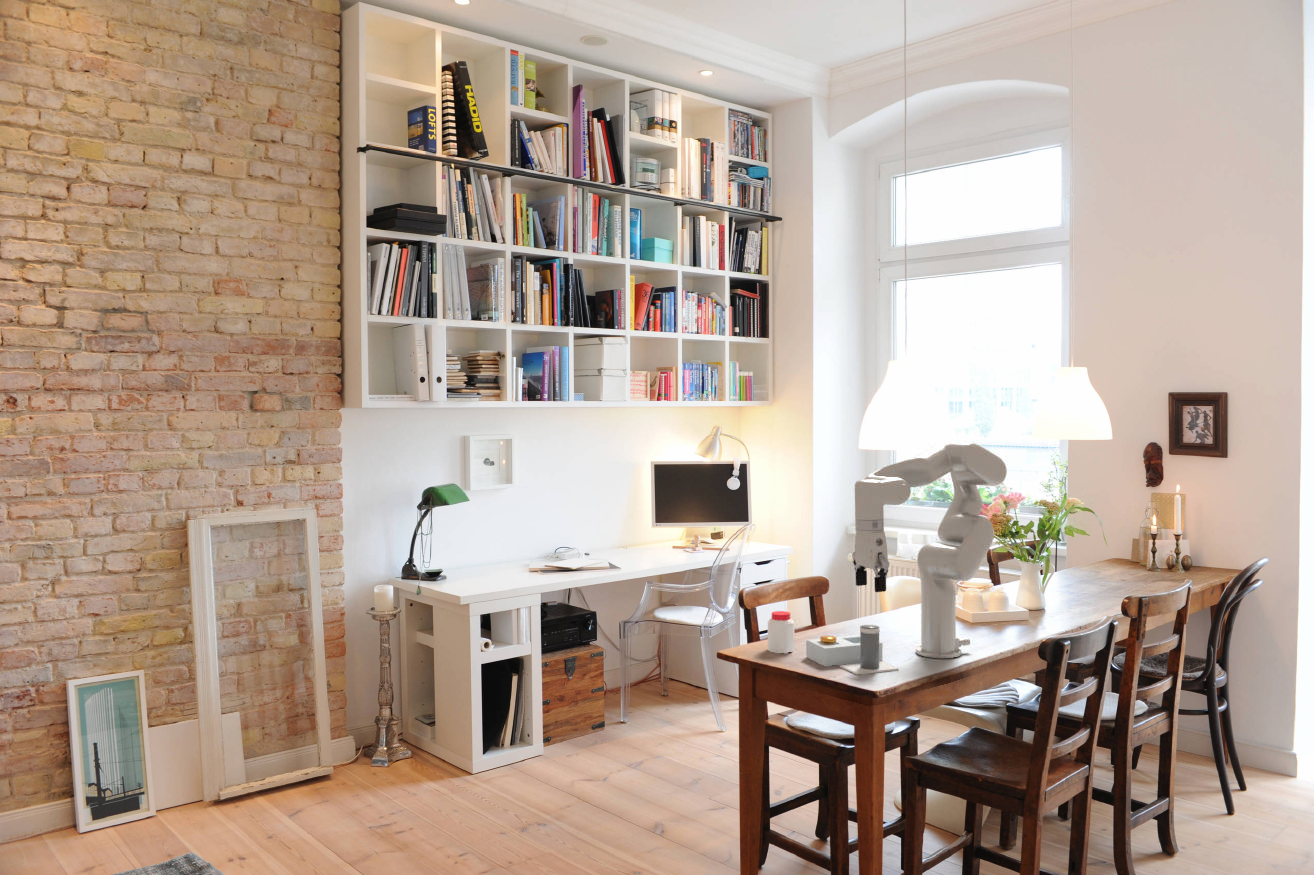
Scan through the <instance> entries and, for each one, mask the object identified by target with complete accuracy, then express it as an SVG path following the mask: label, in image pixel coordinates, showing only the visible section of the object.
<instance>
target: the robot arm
mask: <svg viewBox="0 0 1314 875" xmlns="http://www.w3.org/2000/svg"><path fill="white" fill-rule="evenodd" d="M1007 472H1008V471H1007V466H1006V463H1005V462H1004V460H1002V458H1001V457H1000V456H998V455H996V454H995V453H993V452H991V451H989V450H988V449H986V448H985V447H982V446H981V445H979V444H978V443H974V442H971V441H960V440H959V441H956V440H955V441H954V440H949V441H948V440H947V441H942V442H939V443H937V444H936V445H934V446H933V447H930V448H929V449H927V450H926V451H924V452H922V453H920V454H918V455H916V456H915V457H913V458H908V459H905V460H902V461H899V462H896V463H892V464H889V465H886V466H883V467H880V468H879V469H877V470H875V471H874V472H872V473H870V474H868V475H867V476H866V477H865V478H864V479H859V480H857V481H856V482H855V483H854V518H855V519H854V521H855V523H854V524H855V525H854V526H855V530H854V531H855V536H854V537H855V538H854V552H853V551H852V553H851V556H852V560H853V561H852V564H853V566H854V571H855V586H856V587H860V586H861V587H862V586H867V585H868V578H867V577H868V575H867V574H868V573H867V572H868V571H867V570H866V569H870V570H872V571H873V572H874V575H875V576H874V592H875V593H881V592H883V593H884V592H886V591H887V577H888V572H889V567H890V562H889V556H888V545H887V543H888V542H887V538H886V533H885V523H884V522H885V521H884V516H885V515H884V506H885V505H887V506H888V505H889V506H900V505H903V504H904V503H906V502H907V501H908V499H909V498H910V496H911V492H912V491H911V488H918V487H924V486H928V485H931V484H933V483H934V482H936V481H937V480H939V479H940V478H942V477H944V476H946V475H947V474H949V473H950V477H951V480H952V486H953V498H952V500H951V503H950V505H949V506H948V509H947V511H946V512H945V514H944V516H943V518H942V520H941V522H940V523H939V526H938V529H937V536H938V539H939V540H940V541H941V542H942V543H936V542H932V543H927V544H924V545H923V546H922V547H921V548H920V549H919V551H918V554H917V560H916V561H917V567H918V572H919V578H920V593H921V594H920V597H921V600H920V601H921V602H920V603H921V604H920V610H921V613H920V615H921V616H920V619H921V620H920V624H921V626H920V630H921V631H920V632H921V633H920V634H921V635H920V640H921V641H920V643H921V645H918V646H916V647H915V653H916V654H917V655H918V656H923V657H925V658H926V657H927V658H931V659H955V658H958V657H960V656H961V655H962V650H961V649H960V648H961V647H964V646H965V647H966V646H969V645H971V640H970V638H962V639H961V638H960V637H957V635H956V632H957V629H956V620H957V619H956V618H957V617H956V616H957V614H956V611H957V610H956V608H957V607H956V606H957V605H956V604H957V602H956V601H957V599H956V598H957V597H956V596H957V595H956V590H955V589H956V588H955V586H954V584H953V581H957V582H958V581H959V582H961V581H962V582H967V581H970V580H972V579H974V577H975V576H976V574H977V573H978V571H979V570H980V567H981V565H982V563H983V562H984V559H985V558H986V555H987V553H988V552H989V550H990V547H991V546H992V543H993V540H994V533H995V530H994V526H993V523H992V522H991V520H990V519H989V518H987V517H985V516H983V515H980V513H982V512H981V511H982V509H983V498H982V497H981V494H980V491H979V489H978V486H986V487H996V486H999V485H1000V484H1002V483H1003V482H1004V481H1005V479H1006V477H1007V474H1008V473H1007ZM952 580H953V581H952ZM954 657H955V658H954Z"/></svg>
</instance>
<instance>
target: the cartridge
mask: <svg viewBox="0 0 1314 875" xmlns="http://www.w3.org/2000/svg"><path fill="white" fill-rule="evenodd" d="M880 631H881V630H880V626H878V625H875V624H862V625H860V626H859V633H860V634H859V635H860V666H861V668H863V669H870V670H873V669H879V642H880Z"/></svg>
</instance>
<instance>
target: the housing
mask: <svg viewBox="0 0 1314 875" xmlns="http://www.w3.org/2000/svg"><path fill="white" fill-rule="evenodd" d="M835 637H836V642H835V645H826V646H824V645H822V642H821V641H820V638H812V639H811V638H810V639H805V640H806V643H805V646H806V647H805V648H806V654H805V657H806V656H807V657H808V658H807V657H806V658H807V659H809V658H810V659H809V660H811V659H812V660H811V661H813V660H814V661H813V662H815V661H816V662H815V663H817V662H818V663H817V664H819V663H820V664H819V665H821V664H822V665H821V666H823V665H824V666H823V667H825V666H826V667H833V666H832V665H836V666H840V665H844V664H845V665H848V664H858V663H860V634H853V635H852V634H851V635H845V636H843V635H842V636H841V635H840V636H835ZM879 661H883V642H881V641H879Z"/></svg>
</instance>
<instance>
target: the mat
mask: <svg viewBox="0 0 1314 875" xmlns="http://www.w3.org/2000/svg"><path fill="white" fill-rule="evenodd" d="M839 667H840V669H843V670H846V671H847V672H849V673H851V672H852V674H853V675H855V674H856V676H859V674H860V675H867V674H876V673H877V674H878V673H886V672H896V671H899V667H896V666H894V665H891V664H889V663H887V662H885V661H883V660H882V661H879V669H873V670H870V669H863V668H861V666H860V663H855V664H845V665H839Z"/></svg>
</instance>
